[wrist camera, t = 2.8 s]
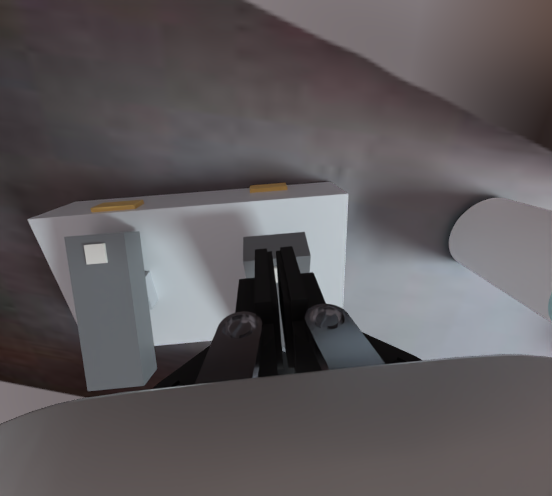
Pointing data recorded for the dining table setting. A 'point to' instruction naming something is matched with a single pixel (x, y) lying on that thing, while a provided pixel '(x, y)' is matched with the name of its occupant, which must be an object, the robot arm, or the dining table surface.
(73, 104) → the dining table surface
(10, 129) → the dining table surface
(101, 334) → the block
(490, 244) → the can
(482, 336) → the dining table surface
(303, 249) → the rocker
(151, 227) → the switch housing
